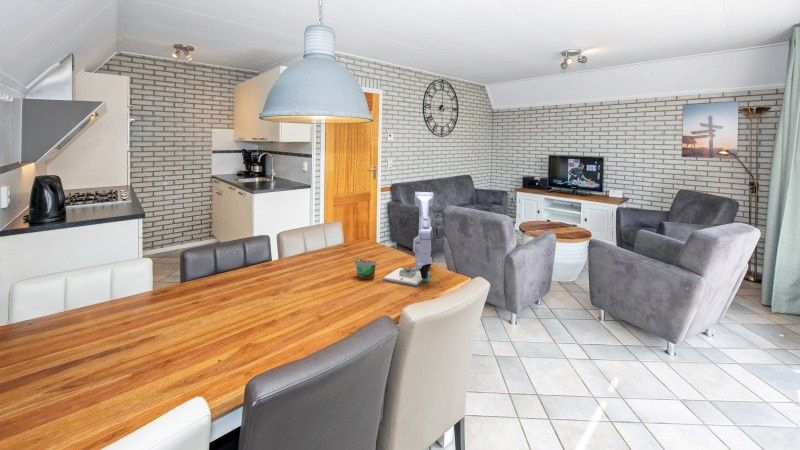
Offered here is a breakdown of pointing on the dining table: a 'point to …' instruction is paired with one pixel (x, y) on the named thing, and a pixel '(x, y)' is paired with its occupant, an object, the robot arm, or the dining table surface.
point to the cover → (407, 272)
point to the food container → (365, 269)
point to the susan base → (404, 283)
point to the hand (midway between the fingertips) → (424, 278)
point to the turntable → (413, 280)
